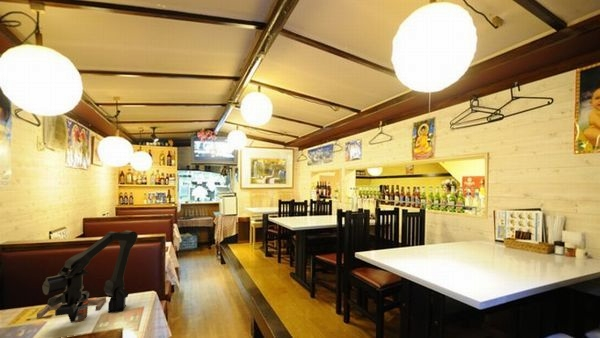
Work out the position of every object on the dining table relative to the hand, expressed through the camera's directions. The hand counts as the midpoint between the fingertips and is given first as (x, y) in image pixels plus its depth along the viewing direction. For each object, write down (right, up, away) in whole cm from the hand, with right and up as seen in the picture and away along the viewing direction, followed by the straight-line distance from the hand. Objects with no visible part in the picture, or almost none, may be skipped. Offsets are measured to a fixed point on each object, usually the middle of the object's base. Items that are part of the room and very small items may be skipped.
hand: (72, 321), depth 122 cm
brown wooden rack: (-14, -3, +17) cm, 22 cm away
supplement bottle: (-3, -3, +7) cm, 8 cm away
